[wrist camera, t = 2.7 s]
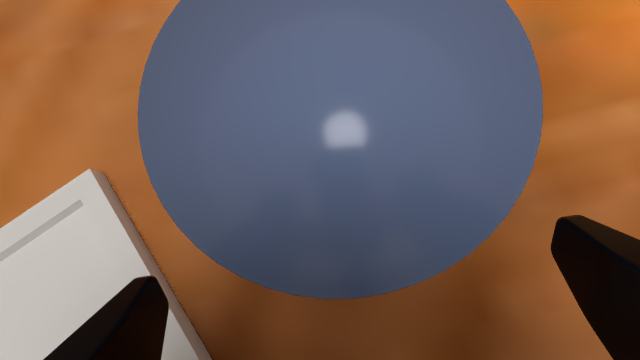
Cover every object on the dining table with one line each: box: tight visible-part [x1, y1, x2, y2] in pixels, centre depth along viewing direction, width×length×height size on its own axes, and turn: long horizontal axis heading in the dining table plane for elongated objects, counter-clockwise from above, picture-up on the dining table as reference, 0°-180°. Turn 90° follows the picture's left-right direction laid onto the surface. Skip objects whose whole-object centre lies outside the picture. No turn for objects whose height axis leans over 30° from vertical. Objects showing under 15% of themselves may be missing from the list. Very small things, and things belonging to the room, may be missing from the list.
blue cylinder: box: [138, 0, 543, 299], centre depth 12 cm, size 6×6×13 cm
